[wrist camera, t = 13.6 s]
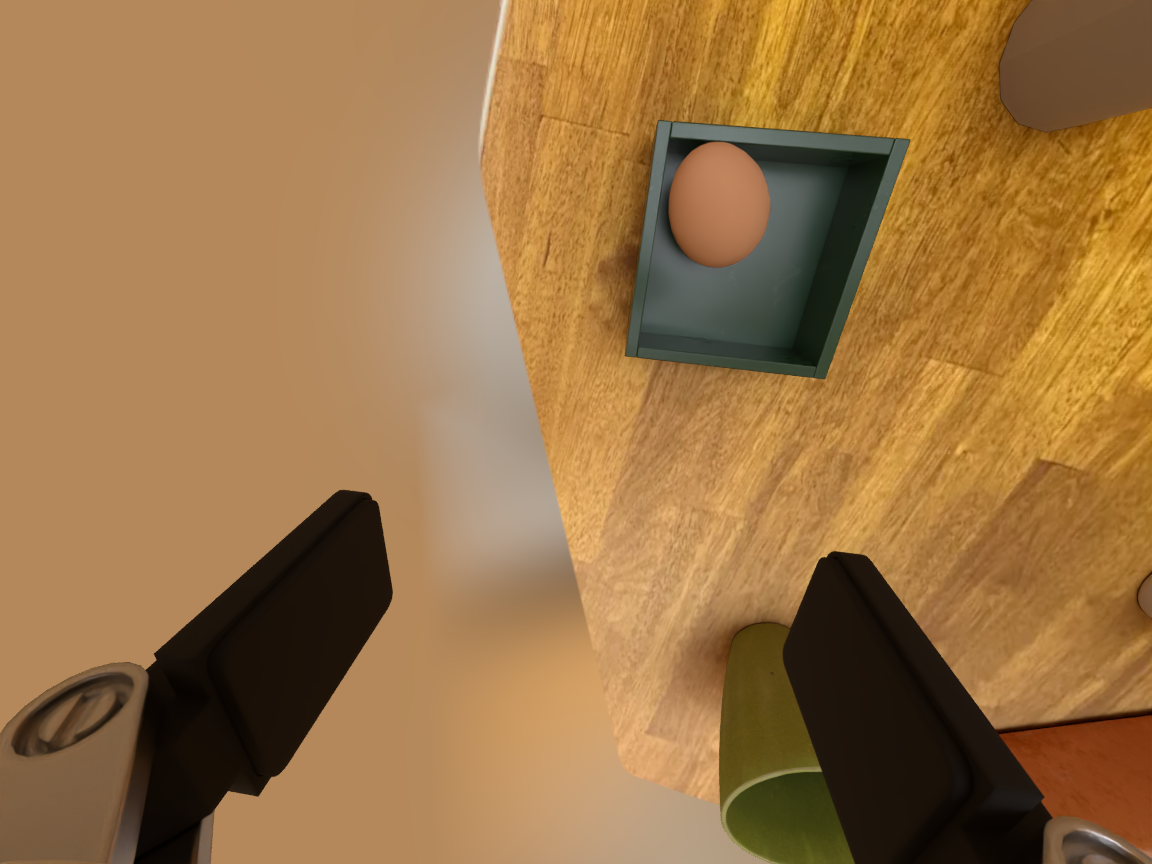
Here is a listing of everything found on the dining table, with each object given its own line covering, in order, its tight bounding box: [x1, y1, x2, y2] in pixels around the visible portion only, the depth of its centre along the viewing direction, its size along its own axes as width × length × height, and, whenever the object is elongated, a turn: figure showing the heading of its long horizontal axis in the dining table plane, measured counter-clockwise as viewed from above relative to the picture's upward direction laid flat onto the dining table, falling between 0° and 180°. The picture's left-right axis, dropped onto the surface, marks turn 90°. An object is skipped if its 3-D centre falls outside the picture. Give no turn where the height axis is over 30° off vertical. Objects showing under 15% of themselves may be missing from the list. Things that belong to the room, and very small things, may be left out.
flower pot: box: [719, 623, 855, 864], centre depth 40 cm, size 15×15×16 cm
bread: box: [999, 715, 1152, 858], centre depth 42 cm, size 14×26×16 cm, turn 116°
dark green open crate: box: [625, 120, 910, 379], centre depth 29 cm, size 14×14×6 cm
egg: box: [668, 142, 770, 268], centre depth 26 cm, size 6×6×8 cm
